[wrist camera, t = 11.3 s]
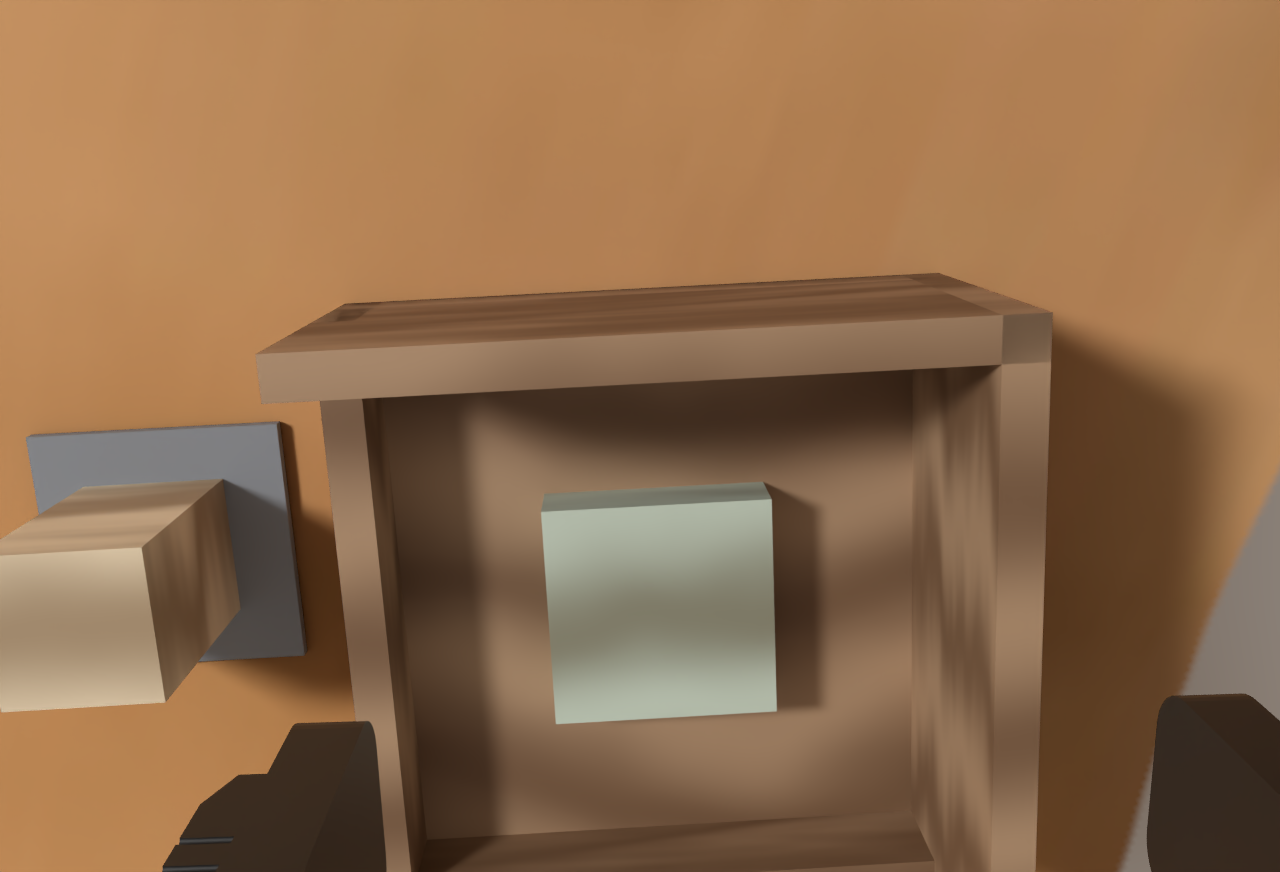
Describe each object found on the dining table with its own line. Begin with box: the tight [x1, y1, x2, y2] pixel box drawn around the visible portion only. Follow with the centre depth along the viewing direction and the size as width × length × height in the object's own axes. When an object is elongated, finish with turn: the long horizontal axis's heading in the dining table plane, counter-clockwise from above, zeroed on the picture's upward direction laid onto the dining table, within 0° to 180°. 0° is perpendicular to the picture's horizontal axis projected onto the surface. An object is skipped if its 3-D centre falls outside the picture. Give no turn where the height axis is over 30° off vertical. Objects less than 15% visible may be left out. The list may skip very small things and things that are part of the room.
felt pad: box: [26, 421, 307, 662], centre depth 39 cm, size 8×8×1 cm
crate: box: [256, 273, 1053, 872], centre depth 35 cm, size 19×19×10 cm
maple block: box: [0, 479, 241, 712], centre depth 36 cm, size 4×4×7 cm
